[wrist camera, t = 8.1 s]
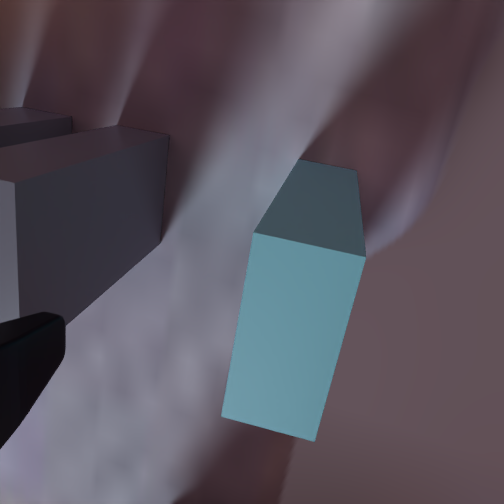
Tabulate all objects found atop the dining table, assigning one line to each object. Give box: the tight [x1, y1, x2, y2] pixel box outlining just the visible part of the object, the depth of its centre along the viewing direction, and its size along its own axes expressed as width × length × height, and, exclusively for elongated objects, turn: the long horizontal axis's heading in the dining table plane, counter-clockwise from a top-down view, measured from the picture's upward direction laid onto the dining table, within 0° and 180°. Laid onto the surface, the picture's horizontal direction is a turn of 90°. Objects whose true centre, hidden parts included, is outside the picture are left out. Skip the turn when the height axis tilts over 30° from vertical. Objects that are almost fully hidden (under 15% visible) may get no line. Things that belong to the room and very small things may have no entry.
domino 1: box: [0, 125, 169, 325], centre depth 16 cm, size 2×5×10 cm, turn 171°
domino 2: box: [221, 159, 366, 442], centre depth 15 cm, size 2×5×10 cm, turn 171°
